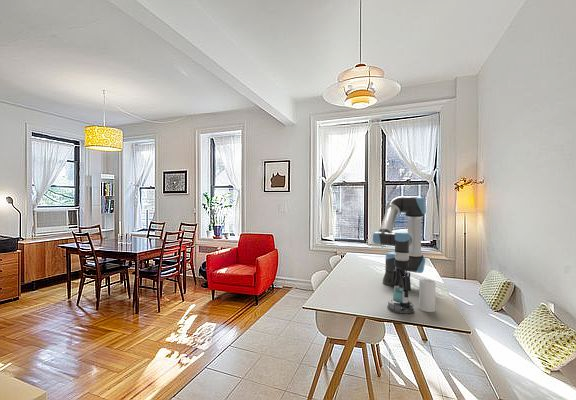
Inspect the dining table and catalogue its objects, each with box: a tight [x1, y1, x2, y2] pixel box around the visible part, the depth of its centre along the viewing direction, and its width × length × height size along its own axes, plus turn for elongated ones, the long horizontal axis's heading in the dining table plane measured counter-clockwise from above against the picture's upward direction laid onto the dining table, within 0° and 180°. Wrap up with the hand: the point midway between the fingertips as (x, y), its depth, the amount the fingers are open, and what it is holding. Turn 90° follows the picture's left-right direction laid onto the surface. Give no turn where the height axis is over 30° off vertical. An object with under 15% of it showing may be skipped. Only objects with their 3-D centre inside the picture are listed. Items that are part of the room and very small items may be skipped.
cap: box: [392, 287, 410, 303], centre depth 162 cm, size 8×8×6 cm
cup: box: [418, 278, 437, 313], centre depth 162 cm, size 8×8×16 cm
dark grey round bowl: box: [387, 298, 415, 315], centre depth 162 cm, size 14×14×4 cm
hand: (400, 299), depth 162 cm, fingers closed on cap, 8 cm apart
